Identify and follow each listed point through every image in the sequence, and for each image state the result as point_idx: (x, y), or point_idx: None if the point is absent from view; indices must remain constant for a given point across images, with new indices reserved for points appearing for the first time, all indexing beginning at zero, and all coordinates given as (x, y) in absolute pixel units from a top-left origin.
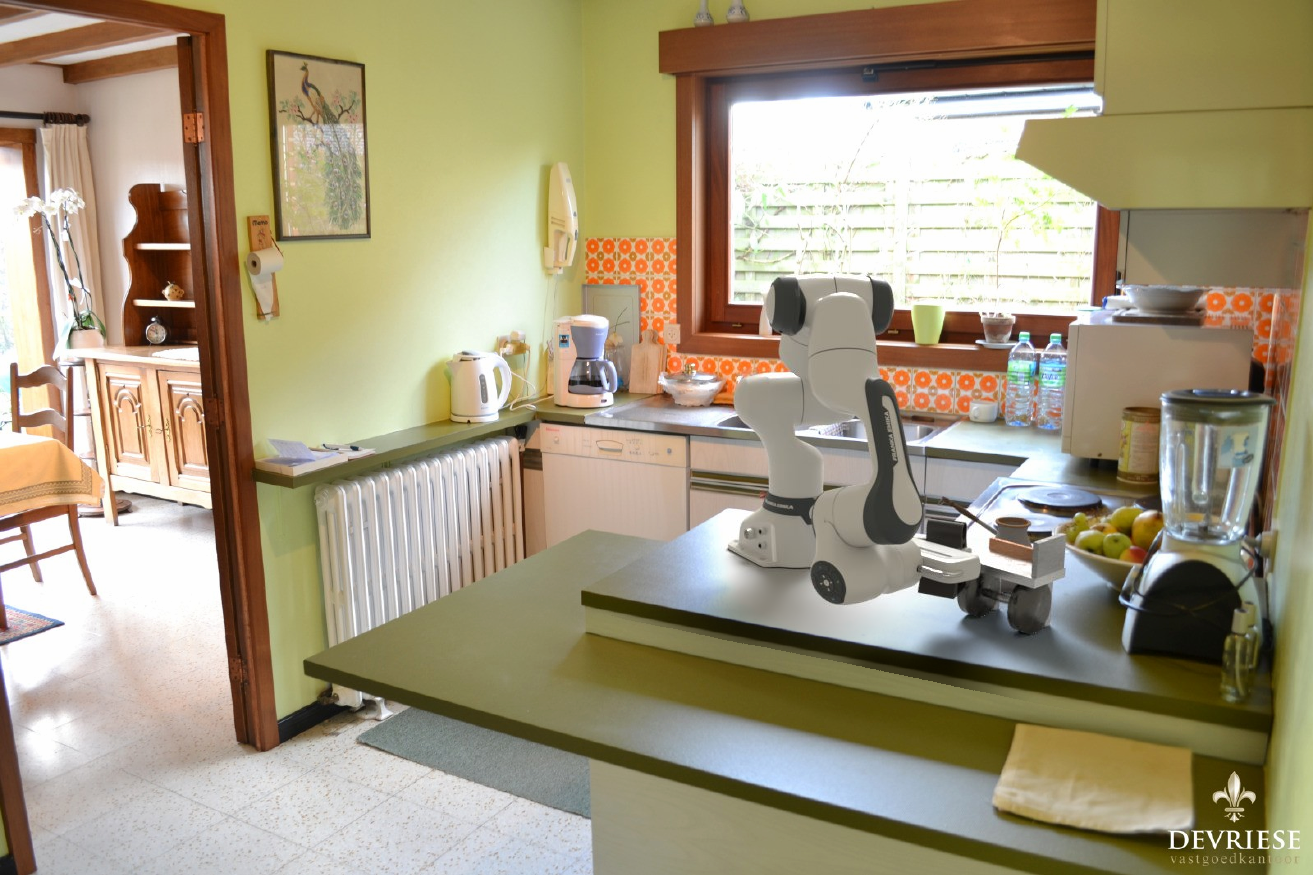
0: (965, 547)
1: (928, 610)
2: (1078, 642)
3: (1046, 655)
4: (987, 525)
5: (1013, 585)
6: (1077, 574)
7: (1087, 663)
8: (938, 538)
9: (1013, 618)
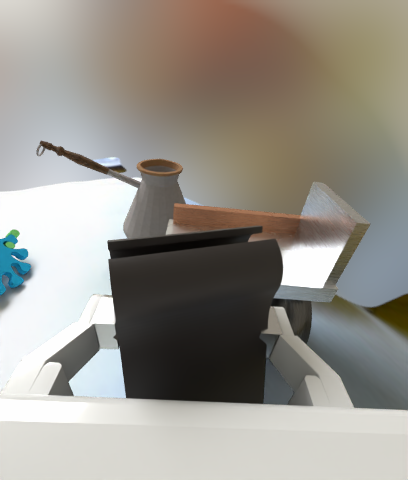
0: (271, 313)
1: (108, 369)
2: (323, 320)
3: (357, 395)
4: (124, 176)
5: None
6: (189, 201)
7: (397, 375)
8: (181, 330)
9: None
